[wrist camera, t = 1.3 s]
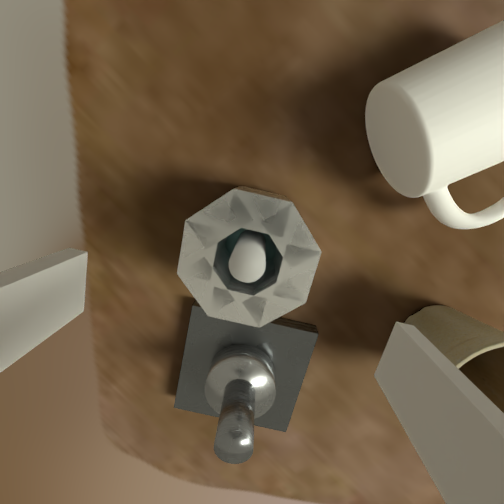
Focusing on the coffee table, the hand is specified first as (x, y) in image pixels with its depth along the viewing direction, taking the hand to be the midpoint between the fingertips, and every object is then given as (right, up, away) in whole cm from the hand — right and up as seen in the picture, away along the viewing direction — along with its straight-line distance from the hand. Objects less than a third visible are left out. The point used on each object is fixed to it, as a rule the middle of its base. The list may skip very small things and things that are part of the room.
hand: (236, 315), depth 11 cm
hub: (0, -9, +17) cm, 19 cm away
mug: (+16, +11, +11) cm, 22 cm away
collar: (+1, +4, +12) cm, 13 cm away
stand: (+1, +4, +13) cm, 14 cm away
